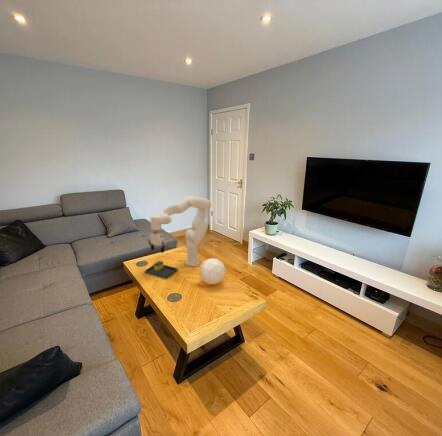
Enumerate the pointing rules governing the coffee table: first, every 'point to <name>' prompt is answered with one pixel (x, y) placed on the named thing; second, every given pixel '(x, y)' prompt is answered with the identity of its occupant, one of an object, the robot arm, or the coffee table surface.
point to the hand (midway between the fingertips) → (157, 251)
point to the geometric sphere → (212, 271)
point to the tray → (161, 271)
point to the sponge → (158, 265)
